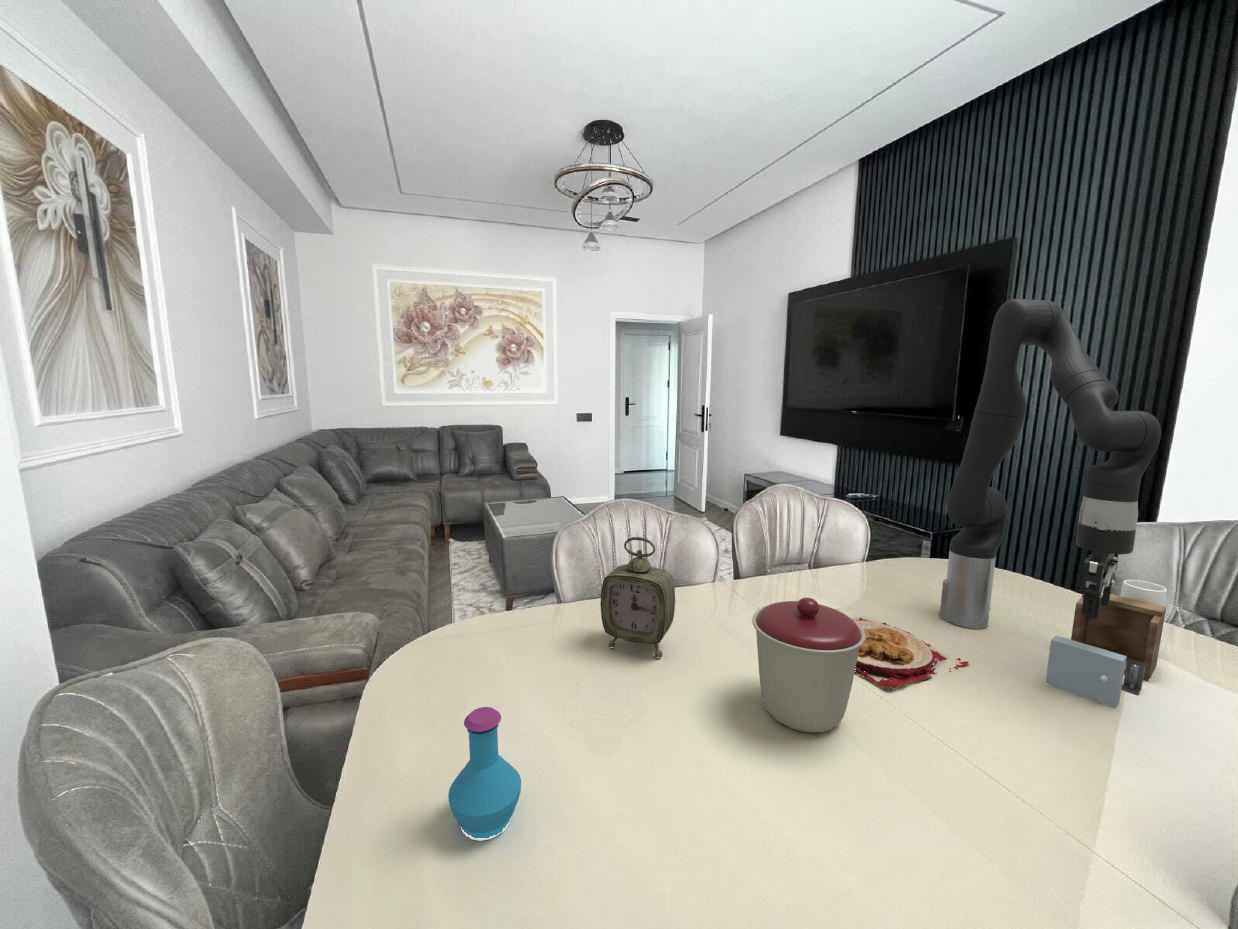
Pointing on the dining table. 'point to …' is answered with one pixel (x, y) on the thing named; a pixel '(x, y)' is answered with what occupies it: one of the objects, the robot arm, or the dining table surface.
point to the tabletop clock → (638, 601)
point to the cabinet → (1123, 630)
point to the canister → (806, 662)
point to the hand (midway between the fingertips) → (1095, 609)
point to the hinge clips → (1133, 677)
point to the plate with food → (895, 655)
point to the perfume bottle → (484, 780)
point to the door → (1086, 670)
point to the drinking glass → (1144, 591)
